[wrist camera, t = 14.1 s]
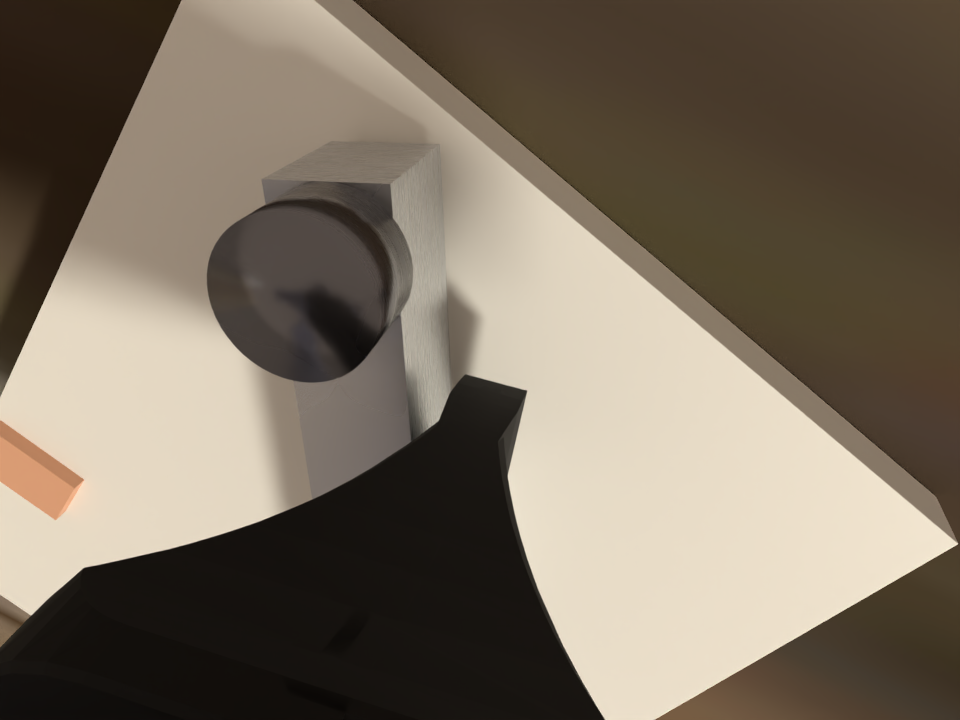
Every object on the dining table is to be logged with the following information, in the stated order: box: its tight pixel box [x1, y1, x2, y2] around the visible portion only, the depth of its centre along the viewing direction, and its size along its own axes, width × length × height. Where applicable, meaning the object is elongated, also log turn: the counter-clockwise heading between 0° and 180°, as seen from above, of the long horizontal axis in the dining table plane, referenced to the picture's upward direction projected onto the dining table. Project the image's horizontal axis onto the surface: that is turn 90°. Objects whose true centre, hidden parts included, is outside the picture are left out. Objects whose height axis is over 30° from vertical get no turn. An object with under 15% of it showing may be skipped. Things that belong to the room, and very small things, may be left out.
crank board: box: [0, 0, 958, 720], centre depth 15 cm, size 16×14×2 cm
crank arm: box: [207, 141, 452, 499], centre depth 12 cm, size 12×4×3 cm, turn 2°
